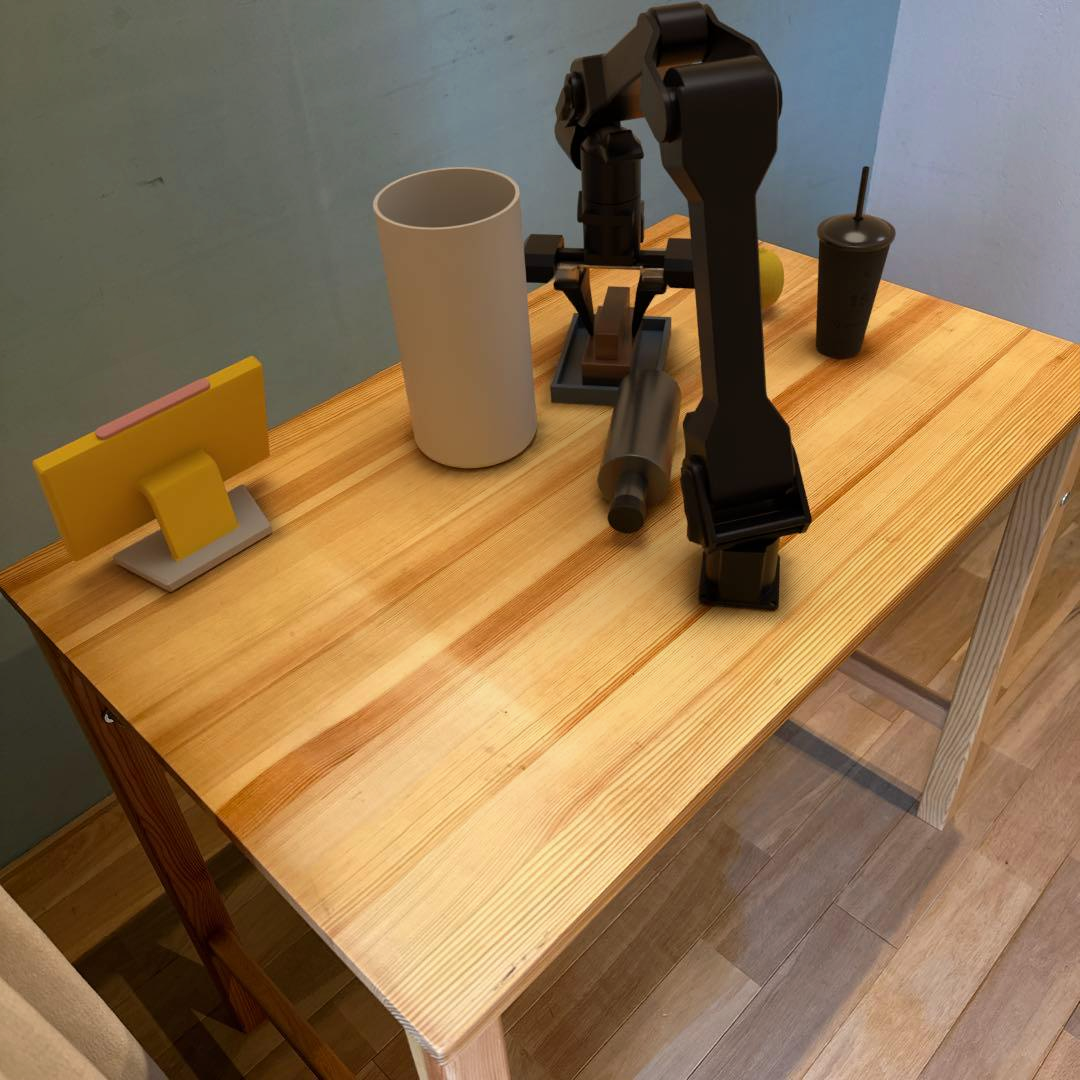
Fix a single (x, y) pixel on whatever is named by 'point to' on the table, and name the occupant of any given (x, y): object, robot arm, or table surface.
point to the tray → (570, 362)
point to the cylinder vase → (460, 312)
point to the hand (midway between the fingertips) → (613, 334)
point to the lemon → (770, 277)
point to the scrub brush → (611, 341)
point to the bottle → (639, 447)
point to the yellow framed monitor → (166, 478)
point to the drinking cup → (849, 276)
